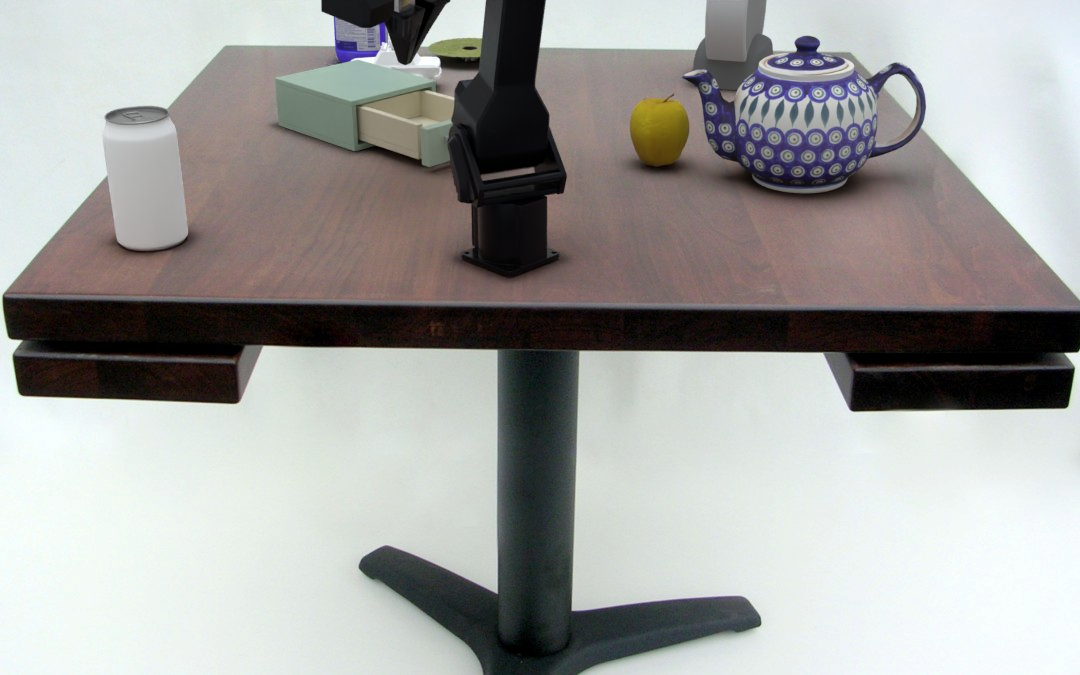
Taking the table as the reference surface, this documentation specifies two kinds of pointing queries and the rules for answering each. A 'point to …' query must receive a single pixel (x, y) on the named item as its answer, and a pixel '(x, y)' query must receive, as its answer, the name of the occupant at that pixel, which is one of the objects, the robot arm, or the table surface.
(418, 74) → the toy car
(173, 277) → the table surface
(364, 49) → the bottle
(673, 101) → the apple
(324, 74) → the cabinet
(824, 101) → the teapot
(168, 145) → the can
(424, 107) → the drawer
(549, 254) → the robot arm
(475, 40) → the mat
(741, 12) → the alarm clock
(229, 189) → the table surface
